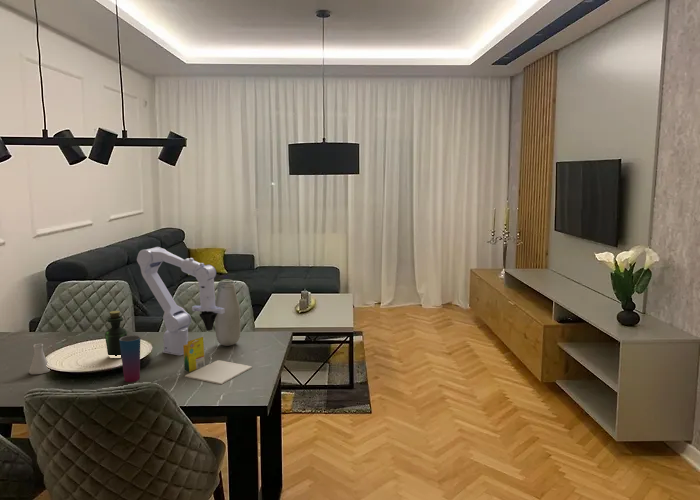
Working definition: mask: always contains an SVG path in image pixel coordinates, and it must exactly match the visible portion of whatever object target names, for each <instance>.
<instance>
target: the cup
mask: <svg viewBox="0 0 700 500" xmlns="http://www.w3.org/2000/svg"><path fill="white" fill-rule="evenodd" d="M119 341H120V349H121V357H122V358H121V363H122V373H123V381H124V382H127V383H134V382H137V381H139V380H140V378H141V377H140V376H141V336H140V335H135V334H133V335H127V336H124V337H121V338H120V339H119Z"/></svg>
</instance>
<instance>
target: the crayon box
mask: <svg viewBox="0 0 700 500" xmlns="http://www.w3.org/2000/svg"><path fill="white" fill-rule="evenodd" d="M204 346H205V345H204V336H201V337H198V338H195V339H192V340H188V344H186V345H183V348H184V354H183V361H184V362H183V364H184V365H183V366H184V367H183V368H184V372H187V373H191V372H194V371H196V370H198V369H200V368H202V367H204V366H206V365H205V363H206V361H205V347H204Z"/></svg>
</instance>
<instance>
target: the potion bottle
mask: <svg viewBox="0 0 700 500" xmlns="http://www.w3.org/2000/svg"><path fill="white" fill-rule="evenodd" d="M120 314H121V311H120V310H111V311H109V317H107V320H106V322H107V323H110V326H111V327H110V328H108V329H107V330H106V331H105V333H104V338H105V344H106V352H107V356H108V355H115V356H117V355H121V349H120V341H119V339H120V338H121V337H124V336H128V331H127V330H126V328H123V327H121V322H123V321H124V318H123V316H121V315H120Z"/></svg>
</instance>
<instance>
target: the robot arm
mask: <svg viewBox="0 0 700 500" xmlns="http://www.w3.org/2000/svg"><path fill="white" fill-rule="evenodd" d="M136 262H137V263H138V266H139V267H140V273H141V276H142V278H143V280H144V281H145V283H146V284H147V285H148V287H149V289H150V291H151V292H152V295H153V296H154V297H155V299H156V300H157V302H158V305H160V307H161V309H162V310H163V312H164V313H163V316H162V320H163V321H164V326H165V328H166V330H165V331H164V333H163V337H162V338H163V340H162V341H163V350H162V353H163V354H169V355H175V356H184V348H183V345H186V344H188V341H189V327H190V325H191V323H192V317H191V315H190V313H188V312H187V311H186V310H185V309H184V308H183V307H182V306H180V305H178V304H177V302H176V301H175V300H174V298H173V296H172V295H171V293H170V291H169V289H168V288H167V286H166V284H165V283H164V282H163V280H162V278H161V277H160V275H159V273H158V272H159V271H158V270H159V268H160V267H161V265H162V263H163V262H165V263H167V264H170V265H173V266H176V267H178V268H180V270H181V272H183V273H185V274H188V275H189V276H192V277H195V279H196V281H197V282H198V289H199V302H200V304H199V305H193V306H191V310H192V312H200V313H199V317H200V318H201V320H202V322H203V324H204V327H205V330H206V332H207V331H208V332H210V331H212V330H213V328H214V324H215V318H216V316H217V313H220V314H223V313H225V309H224V308H221V307H217V306H215V303H216V291H215V278H216V276H217V270H216V268H215V266H213V265H211V264H205V263H204V262H198V261H197V260H195V259H194V258H193V257H190V258H189V257H188V258H185V259H184V258H182V257H180V256H178V255H176V254H175V253H174V254H173V253H172V252H170V251H168V250H166V249H165V248H162V247H160V246H155V247H152V248H147V249H141V250H140V251H139V252H138V254H137V257H136Z"/></svg>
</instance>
